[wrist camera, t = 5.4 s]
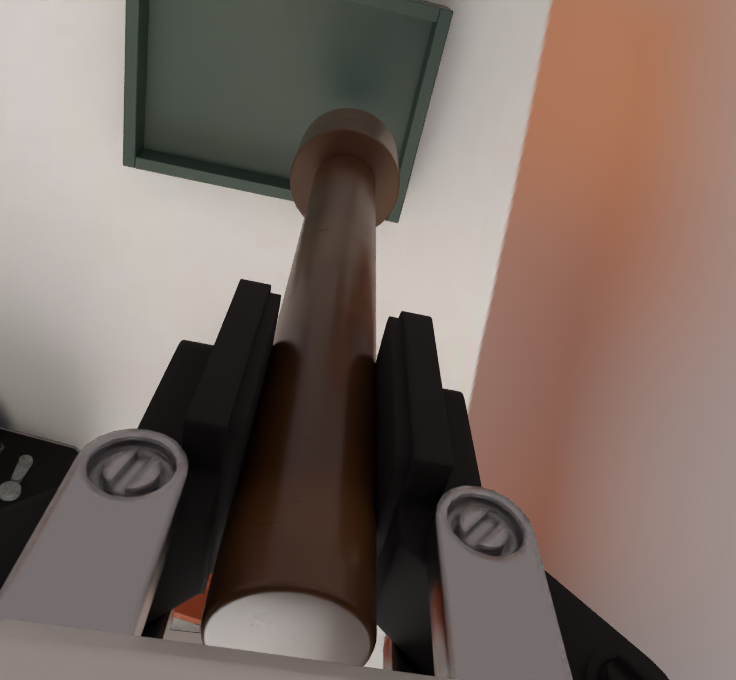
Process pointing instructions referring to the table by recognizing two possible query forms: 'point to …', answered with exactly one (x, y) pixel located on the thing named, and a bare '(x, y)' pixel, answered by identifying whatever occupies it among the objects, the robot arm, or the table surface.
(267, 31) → the spoon tray
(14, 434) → the camera
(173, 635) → the white figure sculpture
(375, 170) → the brown wooden rod
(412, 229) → the table surface
